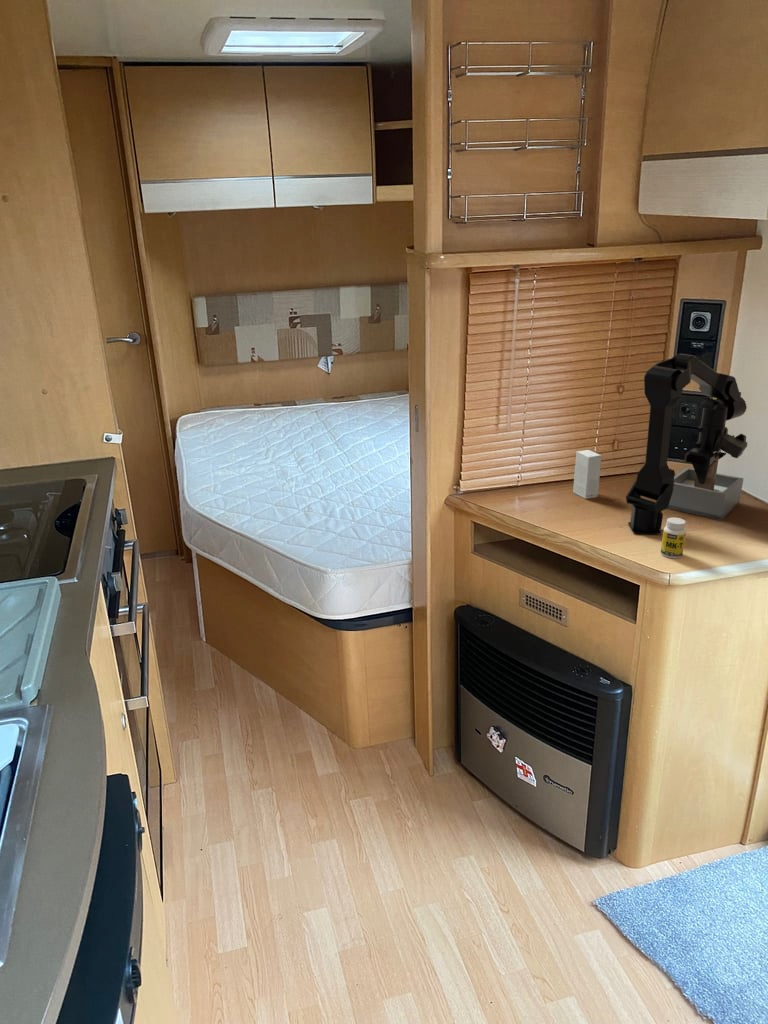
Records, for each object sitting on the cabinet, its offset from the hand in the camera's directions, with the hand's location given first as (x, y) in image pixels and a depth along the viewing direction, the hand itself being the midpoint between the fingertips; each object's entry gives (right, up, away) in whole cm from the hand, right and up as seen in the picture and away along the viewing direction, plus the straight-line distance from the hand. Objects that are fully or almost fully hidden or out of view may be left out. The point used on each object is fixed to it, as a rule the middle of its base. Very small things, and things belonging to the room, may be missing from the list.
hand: (704, 481), depth 203 cm
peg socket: (0, -6, +3) cm, 7 cm away
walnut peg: (0, -3, +1) cm, 3 cm away
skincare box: (-28, -3, +11) cm, 31 cm away
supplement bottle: (-18, -18, -26) cm, 36 cm away
